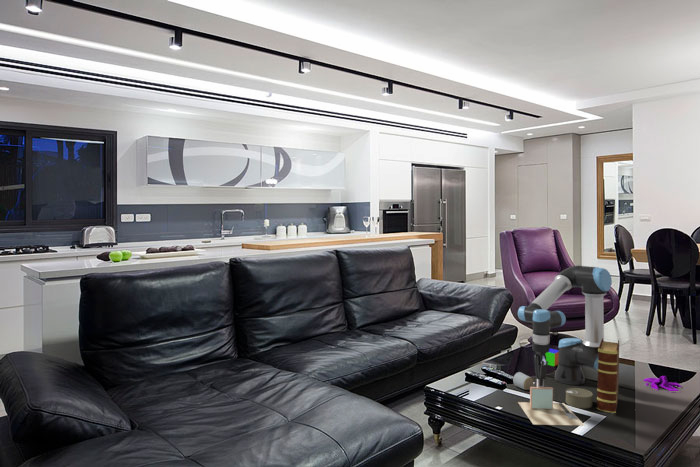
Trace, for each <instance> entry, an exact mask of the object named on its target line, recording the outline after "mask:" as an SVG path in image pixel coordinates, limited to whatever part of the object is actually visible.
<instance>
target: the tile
mask: <svg viewBox="0 0 700 467" xmlns="http://www.w3.org/2000/svg"><path fill="white" fill-rule="evenodd" d="M529 402H530V408H531V409H553V403H554V388H553V387H552V386H544V387H537V386H535V387H530V390H529Z"/></svg>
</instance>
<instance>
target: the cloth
mask: <svg viewBox="0 0 700 467" xmlns="http://www.w3.org/2000/svg"><path fill="white" fill-rule="evenodd" d="M642 381H643V382H645V386H646V387H647V386H651V387H650V388H651V389H653V388H654V389H657V390H656V391H659V390H658V389H659V388H660V387H661V388H660V389H663V388H664V389H663V390H666V389H667V390H669V391H680V390H679V388H678V389H677V387H682V385H681V384H679V383H678V382H669V381H668V378H667V376H666V375H662V376H660V377H659V378H657V377H647V378H644V379H643V380H642ZM649 384H650V385H649ZM672 386H677V387H672ZM654 389H653V390H654ZM667 390H666V391H667ZM669 391H668V392H669Z"/></svg>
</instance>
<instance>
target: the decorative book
mask: <svg viewBox="0 0 700 467" xmlns="http://www.w3.org/2000/svg"><path fill="white" fill-rule="evenodd" d="M619 371H620V340H619V339H618V341H617V342H614V341H613V342H611V341H605V340H604V341H603V339H602V340H601V343H600V346H599V348H598V370H597V388H596V392H597V394H596V396H597V397H596V400H597V401H596V402H597V403H596V405H597V406H596V409H597V410H599V411H603V412H604V413H605V412H606V413H611V414H612V413H616V414H617V408H618V407H617V406H618V400H619V380H620V378H619V376H620V373H619Z"/></svg>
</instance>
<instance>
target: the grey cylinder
mask: <svg viewBox="0 0 700 467" xmlns="http://www.w3.org/2000/svg"><path fill="white" fill-rule="evenodd" d="M512 381H513V385H514V386H515V387H517V388H519V389H522V390H525V391H530V387H536V383H535V384H534V379H533V378H532V377H531V376H529V375H527V374H525V373H523V372H520V371H518V372H515V374H514V375H513V377H512Z"/></svg>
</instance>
